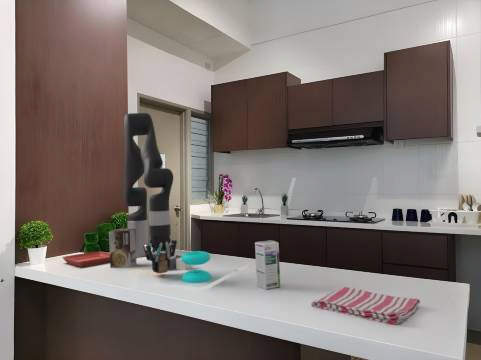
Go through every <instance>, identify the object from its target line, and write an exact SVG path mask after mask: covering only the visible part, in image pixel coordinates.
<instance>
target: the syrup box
mask: <svg viewBox="0 0 481 360" xmlns="http://www.w3.org/2000/svg"><path fill="white" fill-rule="evenodd" d="M279 245H280V244H279V242H278V241H276V240H264V241H256V242H254V249H255V253H254V254H255V271H256V272H255V273H256V275H255V276H256V285H257V287H259V288H262V289H263V290H270V289H274V288H279V287H281V271H280V269H281V267H280V247H279Z"/></svg>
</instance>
